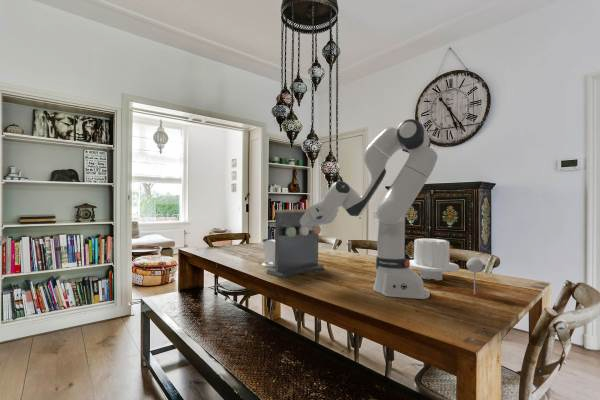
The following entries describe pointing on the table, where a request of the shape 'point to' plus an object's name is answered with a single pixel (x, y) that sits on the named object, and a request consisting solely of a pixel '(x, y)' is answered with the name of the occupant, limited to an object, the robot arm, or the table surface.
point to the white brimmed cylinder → (432, 258)
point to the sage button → (290, 232)
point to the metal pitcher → (269, 252)
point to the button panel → (293, 246)
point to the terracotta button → (316, 230)
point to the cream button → (303, 231)
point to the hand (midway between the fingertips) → (310, 228)
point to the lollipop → (474, 267)
